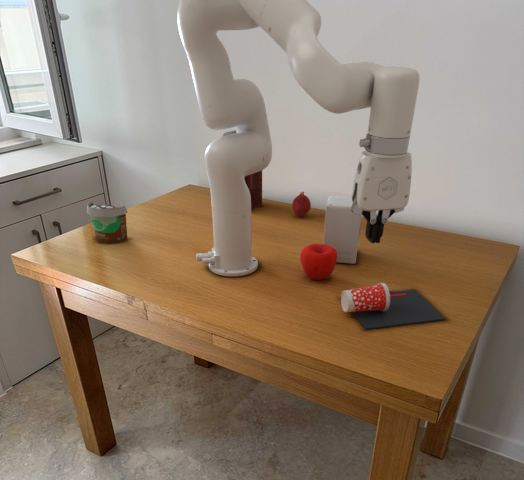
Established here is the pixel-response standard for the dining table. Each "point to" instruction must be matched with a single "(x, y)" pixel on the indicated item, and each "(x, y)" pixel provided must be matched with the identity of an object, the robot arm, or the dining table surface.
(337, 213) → the white product box
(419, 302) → the mat
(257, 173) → the toy vending machine
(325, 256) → the apple
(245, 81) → the robot arm
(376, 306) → the beverage cup
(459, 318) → the dining table surface
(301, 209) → the onion
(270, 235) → the dining table surface
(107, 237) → the food container
